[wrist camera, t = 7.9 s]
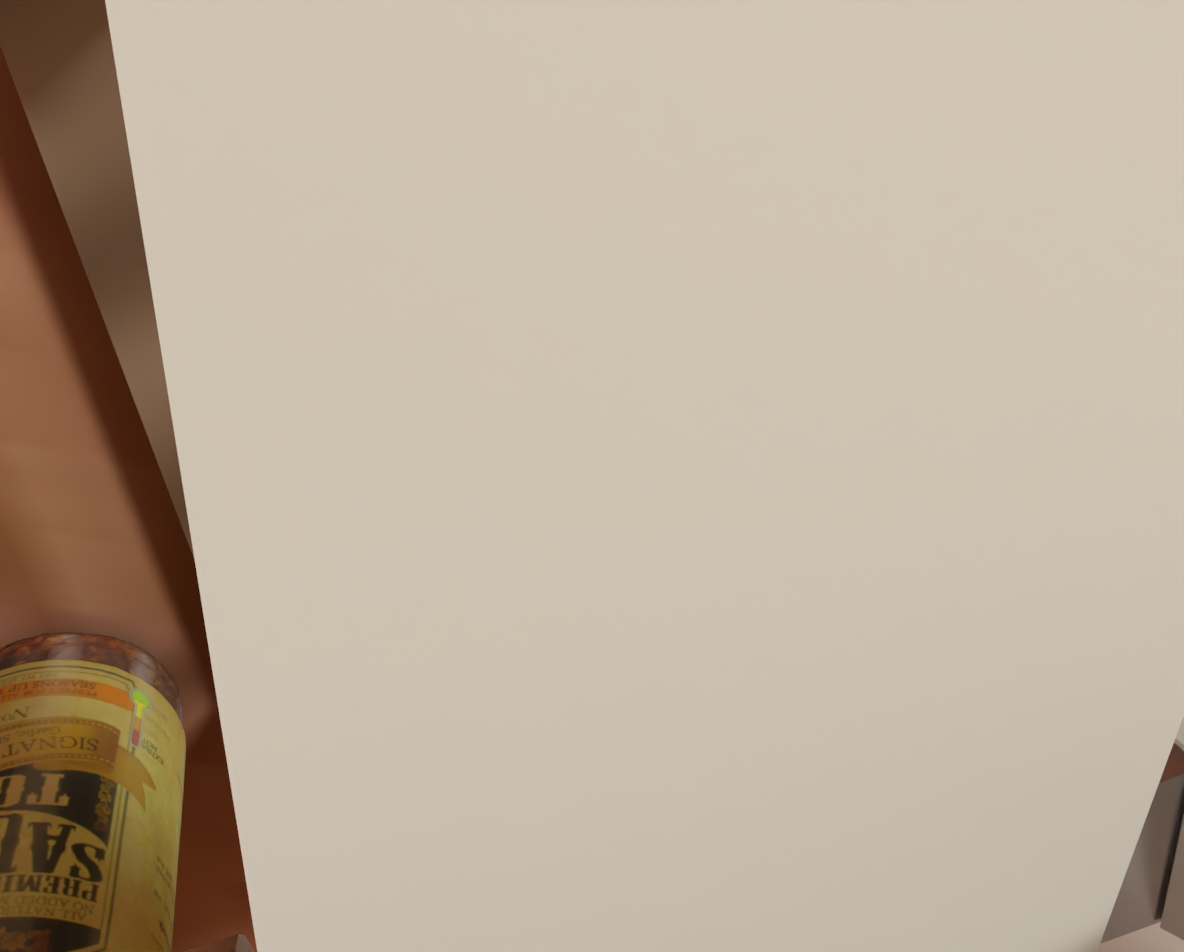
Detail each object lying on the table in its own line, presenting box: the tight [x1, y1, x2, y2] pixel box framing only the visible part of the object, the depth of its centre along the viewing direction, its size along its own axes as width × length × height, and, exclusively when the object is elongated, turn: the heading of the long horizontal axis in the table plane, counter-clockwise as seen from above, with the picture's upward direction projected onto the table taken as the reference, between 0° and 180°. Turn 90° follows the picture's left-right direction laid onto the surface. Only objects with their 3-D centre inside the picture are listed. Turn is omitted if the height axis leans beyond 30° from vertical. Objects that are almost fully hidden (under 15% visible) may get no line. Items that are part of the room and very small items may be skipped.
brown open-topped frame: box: [0, 0, 195, 560], centre depth 22 cm, size 27×12×14 cm, turn 8°
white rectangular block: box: [105, 0, 1184, 952], centre depth 9 cm, size 20×6×4 cm, turn 178°
